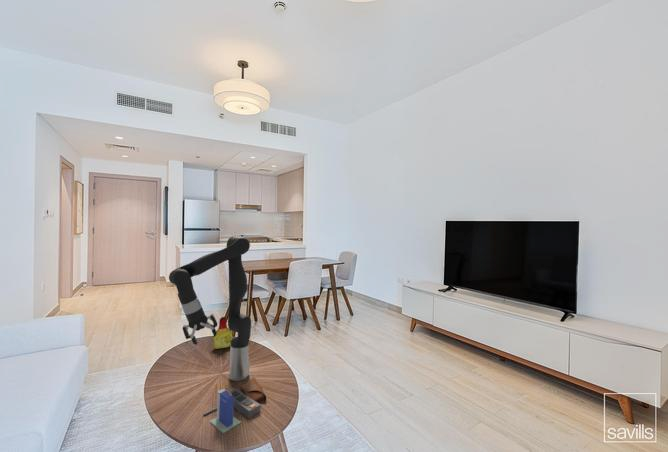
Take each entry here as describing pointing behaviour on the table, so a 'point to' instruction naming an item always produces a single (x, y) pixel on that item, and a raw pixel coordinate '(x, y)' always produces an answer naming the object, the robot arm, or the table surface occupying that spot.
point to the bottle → (222, 335)
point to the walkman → (225, 407)
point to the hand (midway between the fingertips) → (205, 339)
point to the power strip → (242, 404)
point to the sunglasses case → (253, 391)
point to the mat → (223, 427)
